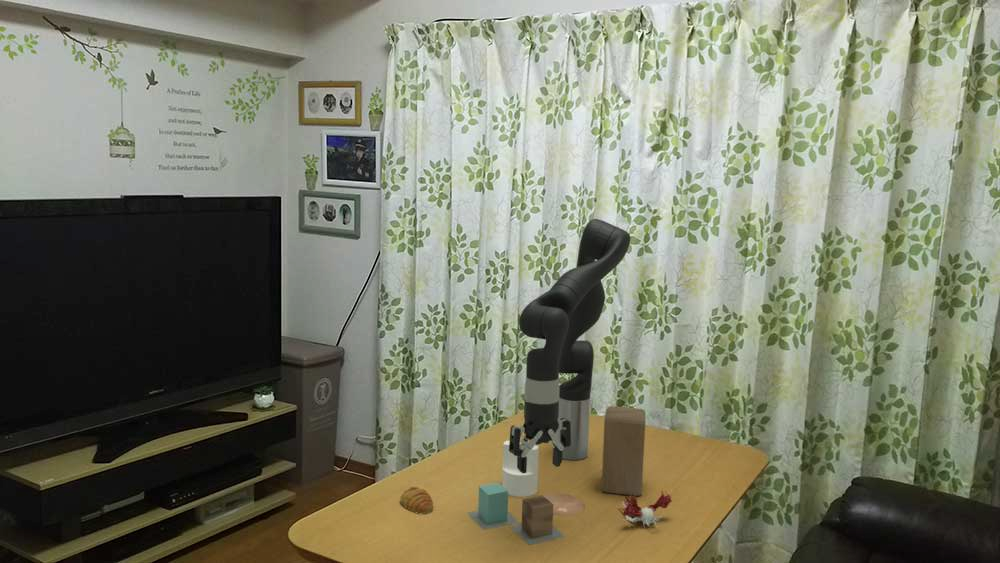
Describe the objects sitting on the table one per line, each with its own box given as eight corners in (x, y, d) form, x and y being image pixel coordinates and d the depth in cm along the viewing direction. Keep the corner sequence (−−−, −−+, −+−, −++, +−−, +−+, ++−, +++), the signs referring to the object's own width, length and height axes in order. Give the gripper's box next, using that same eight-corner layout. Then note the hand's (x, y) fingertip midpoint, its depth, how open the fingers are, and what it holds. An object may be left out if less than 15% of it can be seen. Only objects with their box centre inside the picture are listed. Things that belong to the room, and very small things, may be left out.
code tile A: (509, 528, 161) (509, 526, 161) (544, 520, 165) (544, 518, 165) (528, 546, 153) (528, 544, 153) (564, 538, 157) (564, 536, 157)
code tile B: (466, 514, 167) (466, 512, 167) (501, 507, 172) (501, 505, 171) (483, 531, 160) (483, 529, 159) (519, 523, 164) (519, 521, 164)
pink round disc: (530, 501, 175) (530, 498, 175) (568, 493, 180) (568, 491, 180) (553, 520, 165) (553, 518, 165) (593, 511, 170) (593, 509, 170)
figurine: (649, 504, 175) (650, 478, 174) (683, 525, 165) (684, 497, 164) (599, 517, 168) (601, 490, 167) (632, 540, 158) (633, 511, 157)
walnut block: (521, 528, 160) (522, 499, 159) (540, 524, 163) (541, 495, 162) (532, 538, 156) (533, 508, 155) (552, 534, 158) (553, 504, 157)
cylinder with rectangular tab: (542, 487, 183) (544, 442, 182) (529, 501, 175) (530, 454, 173) (510, 480, 187) (511, 436, 185) (495, 493, 179) (497, 447, 177)
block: (641, 497, 179) (645, 420, 176) (601, 493, 180) (604, 416, 178) (641, 481, 188) (645, 408, 185) (603, 477, 190) (606, 404, 187)
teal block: (478, 514, 167) (478, 486, 166) (497, 510, 169) (498, 482, 168) (487, 524, 162) (488, 494, 161) (507, 519, 164) (508, 490, 163)
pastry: (440, 512, 169) (440, 497, 168) (414, 519, 165) (414, 504, 164) (422, 497, 176) (422, 482, 176) (397, 504, 173) (397, 489, 172)
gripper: (560, 389, 161) (558, 457, 164) (504, 396, 155) (502, 468, 157) (579, 398, 155) (576, 469, 157) (521, 406, 148) (519, 480, 151)
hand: (539, 468), depth 157 cm, fingers open, 8 cm apart
